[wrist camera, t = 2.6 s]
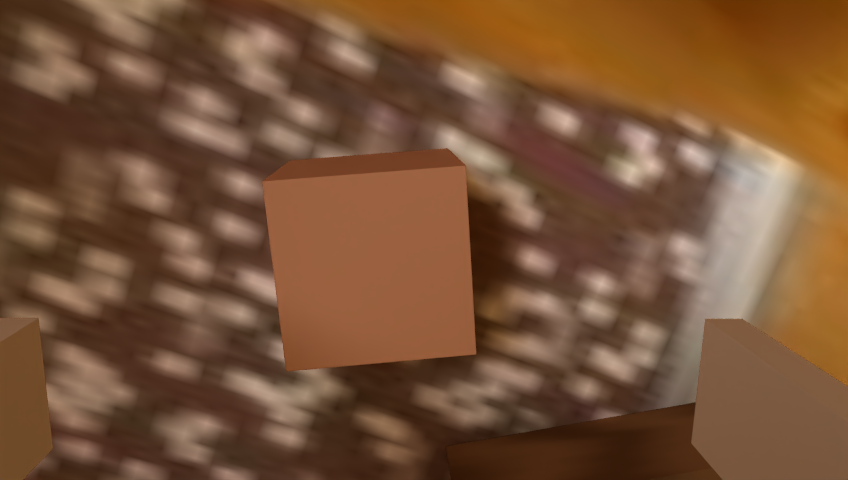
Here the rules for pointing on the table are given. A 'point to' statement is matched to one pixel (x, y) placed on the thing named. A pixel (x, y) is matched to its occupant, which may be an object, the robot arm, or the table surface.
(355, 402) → the table surface
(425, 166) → the block
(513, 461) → the tower base
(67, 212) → the table surface
